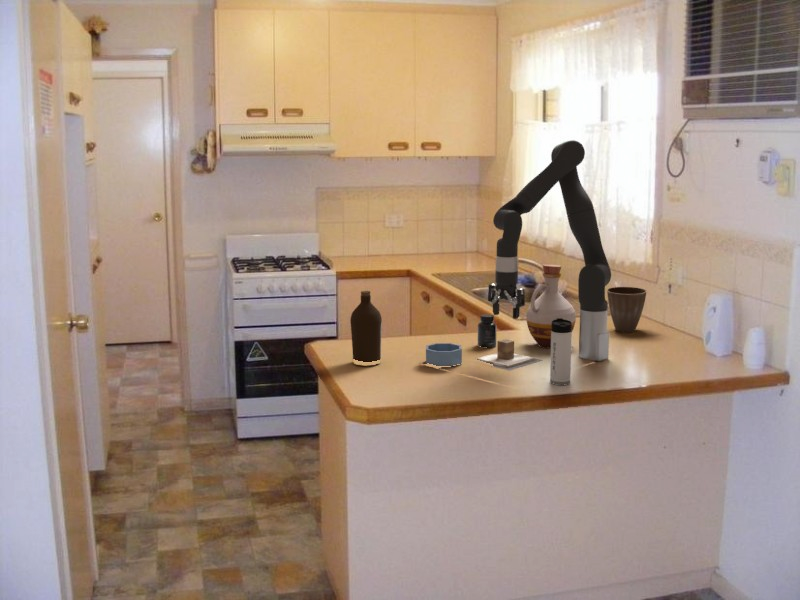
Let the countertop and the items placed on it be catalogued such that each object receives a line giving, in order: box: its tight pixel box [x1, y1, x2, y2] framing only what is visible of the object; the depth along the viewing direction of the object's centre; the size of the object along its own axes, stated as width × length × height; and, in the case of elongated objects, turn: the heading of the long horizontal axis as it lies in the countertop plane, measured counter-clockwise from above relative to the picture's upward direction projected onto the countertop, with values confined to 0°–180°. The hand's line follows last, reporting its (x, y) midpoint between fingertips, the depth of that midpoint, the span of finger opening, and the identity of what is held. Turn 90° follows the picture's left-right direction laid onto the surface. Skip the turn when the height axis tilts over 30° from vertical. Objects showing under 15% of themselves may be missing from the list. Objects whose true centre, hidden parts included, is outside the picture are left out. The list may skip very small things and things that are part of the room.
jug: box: [525, 264, 577, 349], centre depth 327 cm, size 20×18×30 cm
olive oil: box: [350, 290, 383, 362], centre depth 307 cm, size 11×11×25 cm
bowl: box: [425, 342, 463, 366], centre depth 306 cm, size 12×12×6 cm
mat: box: [493, 358, 544, 371], centre depth 309 cm, size 18×18×1 cm
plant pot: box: [606, 286, 648, 333], centre depth 352 cm, size 15×15×16 cm
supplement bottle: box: [477, 313, 497, 349], centre depth 328 cm, size 7×7×12 cm
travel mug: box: [549, 318, 573, 386], centre depth 282 cm, size 6×7×20 cm
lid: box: [476, 338, 536, 368], centre depth 308 cm, size 14×14×7 cm
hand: (505, 316), depth 306 cm, fingers open, 8 cm apart
